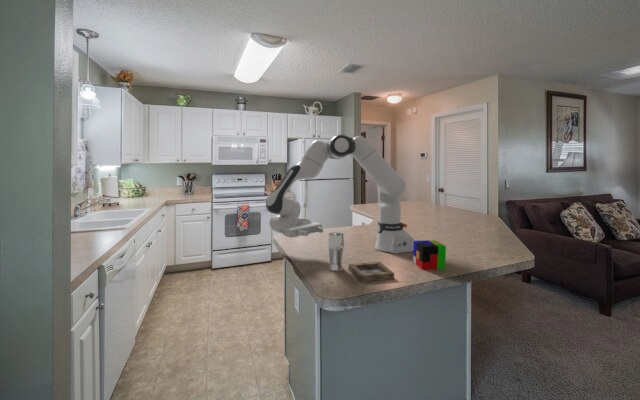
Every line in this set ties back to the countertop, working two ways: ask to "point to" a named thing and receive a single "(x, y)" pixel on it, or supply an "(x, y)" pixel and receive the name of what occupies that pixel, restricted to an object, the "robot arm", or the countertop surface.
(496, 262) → the countertop surface
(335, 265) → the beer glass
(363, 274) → the cradle jig
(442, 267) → the puzzle toy
